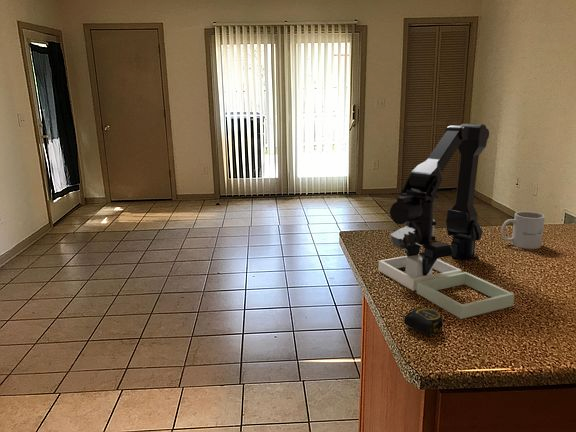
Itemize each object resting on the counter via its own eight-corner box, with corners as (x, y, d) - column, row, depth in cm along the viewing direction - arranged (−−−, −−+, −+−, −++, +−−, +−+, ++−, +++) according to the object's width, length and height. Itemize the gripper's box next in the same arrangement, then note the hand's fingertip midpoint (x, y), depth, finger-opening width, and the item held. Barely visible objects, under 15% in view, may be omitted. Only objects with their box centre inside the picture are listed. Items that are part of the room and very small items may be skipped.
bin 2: (464, 282, 126) (465, 271, 125) (512, 305, 112) (514, 294, 111) (416, 292, 120) (417, 281, 119) (461, 318, 106) (462, 306, 105)
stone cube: (419, 271, 134) (420, 254, 133) (431, 277, 130) (432, 259, 129) (405, 273, 132) (406, 256, 131) (416, 280, 128) (417, 262, 127)
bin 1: (423, 262, 141) (423, 252, 140) (461, 280, 127) (461, 270, 126) (378, 270, 135) (378, 260, 134) (413, 290, 121) (413, 279, 120)
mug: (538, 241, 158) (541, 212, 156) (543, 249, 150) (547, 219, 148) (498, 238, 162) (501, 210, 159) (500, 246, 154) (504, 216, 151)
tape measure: (402, 328, 103) (402, 312, 102) (423, 319, 107) (424, 303, 106) (427, 341, 97) (428, 324, 96) (448, 331, 101) (450, 315, 100)
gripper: (376, 212, 132) (374, 265, 136) (419, 229, 115) (416, 289, 119) (409, 208, 136) (406, 259, 140) (455, 224, 120) (451, 282, 124)
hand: (418, 272), depth 131 cm, fingers closed on stone cube, 5 cm apart
